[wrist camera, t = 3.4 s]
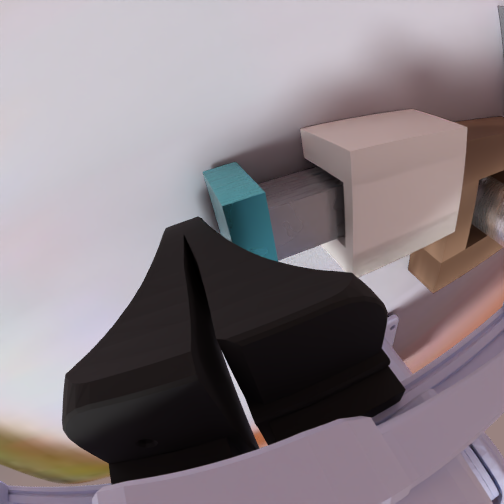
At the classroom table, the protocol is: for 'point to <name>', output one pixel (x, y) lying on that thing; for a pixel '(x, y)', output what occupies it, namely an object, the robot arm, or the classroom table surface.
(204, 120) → the classroom table surface
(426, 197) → the block
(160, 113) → the classroom table surface
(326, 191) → the key
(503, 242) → the steel peg
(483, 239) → the socket block
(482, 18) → the classroom table surface
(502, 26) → the block
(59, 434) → the classroom table surface
